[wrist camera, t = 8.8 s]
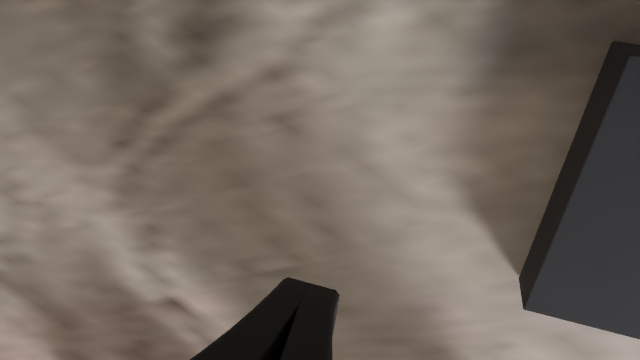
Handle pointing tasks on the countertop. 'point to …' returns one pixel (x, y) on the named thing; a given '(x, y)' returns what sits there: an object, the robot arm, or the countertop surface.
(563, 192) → the tab pad
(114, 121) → the countertop surface
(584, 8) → the countertop surface
